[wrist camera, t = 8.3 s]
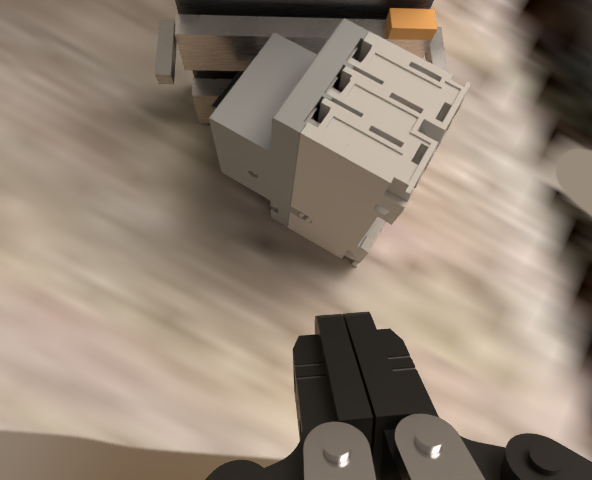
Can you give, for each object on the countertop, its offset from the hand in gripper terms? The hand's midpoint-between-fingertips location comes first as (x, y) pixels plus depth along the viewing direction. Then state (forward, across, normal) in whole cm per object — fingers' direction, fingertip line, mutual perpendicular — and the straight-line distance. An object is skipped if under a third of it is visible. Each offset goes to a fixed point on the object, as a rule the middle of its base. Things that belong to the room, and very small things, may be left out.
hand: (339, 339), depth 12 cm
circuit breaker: (+26, -2, +5) cm, 26 cm away
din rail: (+30, -1, 0) cm, 30 cm away
